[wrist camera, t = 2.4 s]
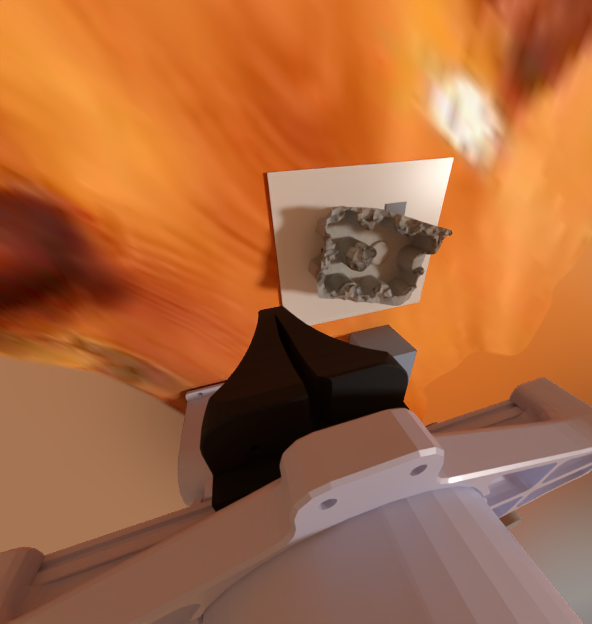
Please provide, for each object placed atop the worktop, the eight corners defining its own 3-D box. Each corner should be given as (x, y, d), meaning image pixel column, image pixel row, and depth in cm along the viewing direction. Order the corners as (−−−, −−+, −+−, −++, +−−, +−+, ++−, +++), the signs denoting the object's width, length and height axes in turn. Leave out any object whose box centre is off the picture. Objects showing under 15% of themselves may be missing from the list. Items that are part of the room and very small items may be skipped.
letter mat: (285, 329, 24) (286, 331, 24) (266, 172, 17) (267, 172, 16) (417, 301, 27) (419, 302, 26) (451, 157, 19) (454, 157, 19)
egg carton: (423, 221, 22) (460, 229, 18) (390, 293, 25) (417, 311, 21) (321, 194, 18) (344, 197, 14) (299, 283, 21) (314, 303, 18)
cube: (347, 364, 29) (367, 395, 25) (349, 333, 27) (372, 361, 22) (382, 355, 30) (407, 384, 26) (387, 324, 28) (416, 350, 23)
